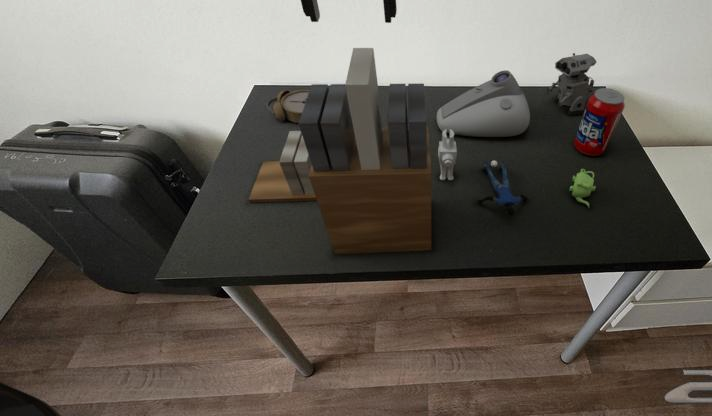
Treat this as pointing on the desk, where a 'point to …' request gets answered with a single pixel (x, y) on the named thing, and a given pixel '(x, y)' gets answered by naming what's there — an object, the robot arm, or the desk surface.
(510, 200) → the person figurine
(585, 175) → the green kettle
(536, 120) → the desk surface
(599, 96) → the soda can
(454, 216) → the desk surface
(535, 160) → the desk surface
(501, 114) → the projector
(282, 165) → the wooden display stand
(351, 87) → the gray rectangular block
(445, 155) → the toy robot
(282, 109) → the alarm clock
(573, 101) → the figurine
